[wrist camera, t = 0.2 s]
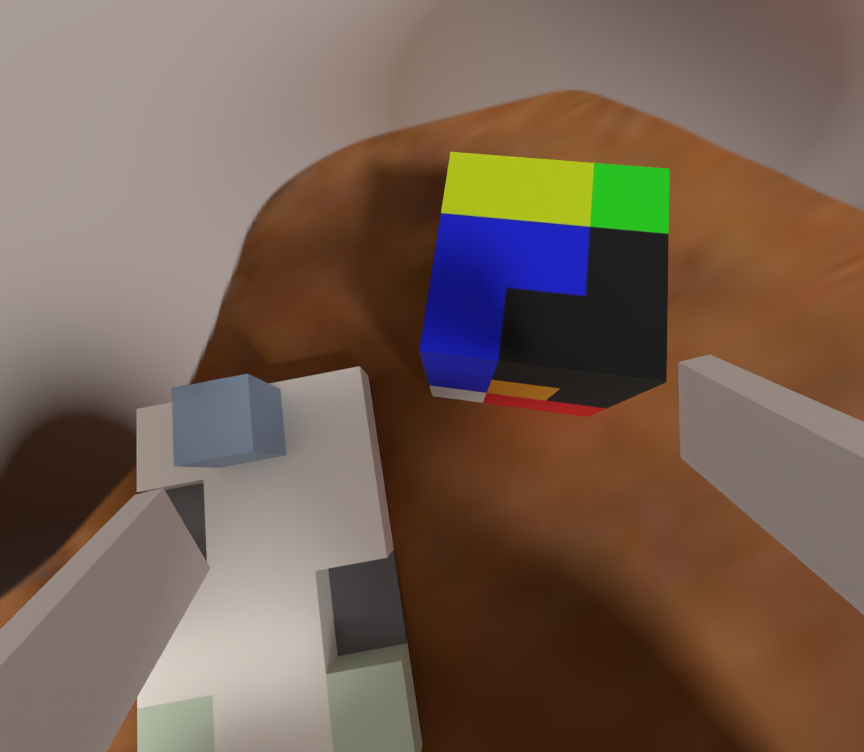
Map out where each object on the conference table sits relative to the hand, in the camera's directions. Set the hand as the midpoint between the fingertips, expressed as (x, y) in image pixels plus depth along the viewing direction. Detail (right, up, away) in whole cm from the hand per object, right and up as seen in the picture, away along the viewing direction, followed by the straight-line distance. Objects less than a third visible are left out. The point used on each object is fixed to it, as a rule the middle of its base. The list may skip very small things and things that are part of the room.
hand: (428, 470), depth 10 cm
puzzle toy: (+6, +5, +17) cm, 19 cm away
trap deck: (-9, -9, +14) cm, 19 cm away
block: (-11, -1, +14) cm, 18 cm away
